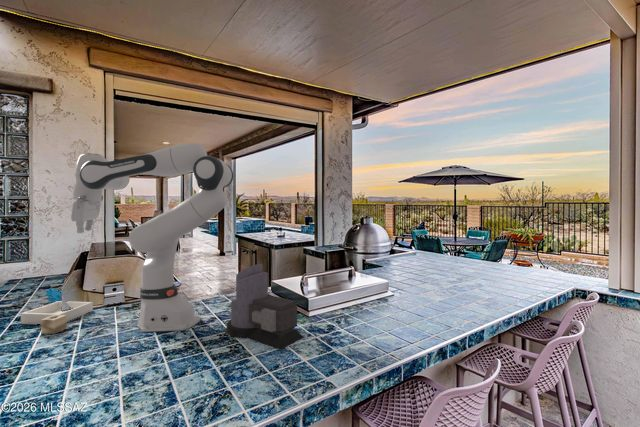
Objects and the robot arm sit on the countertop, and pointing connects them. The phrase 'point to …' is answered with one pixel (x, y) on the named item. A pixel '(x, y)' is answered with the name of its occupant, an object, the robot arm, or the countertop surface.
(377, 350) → the countertop surface
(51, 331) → the block
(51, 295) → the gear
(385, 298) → the countertop surface
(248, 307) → the juicer
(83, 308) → the tray
